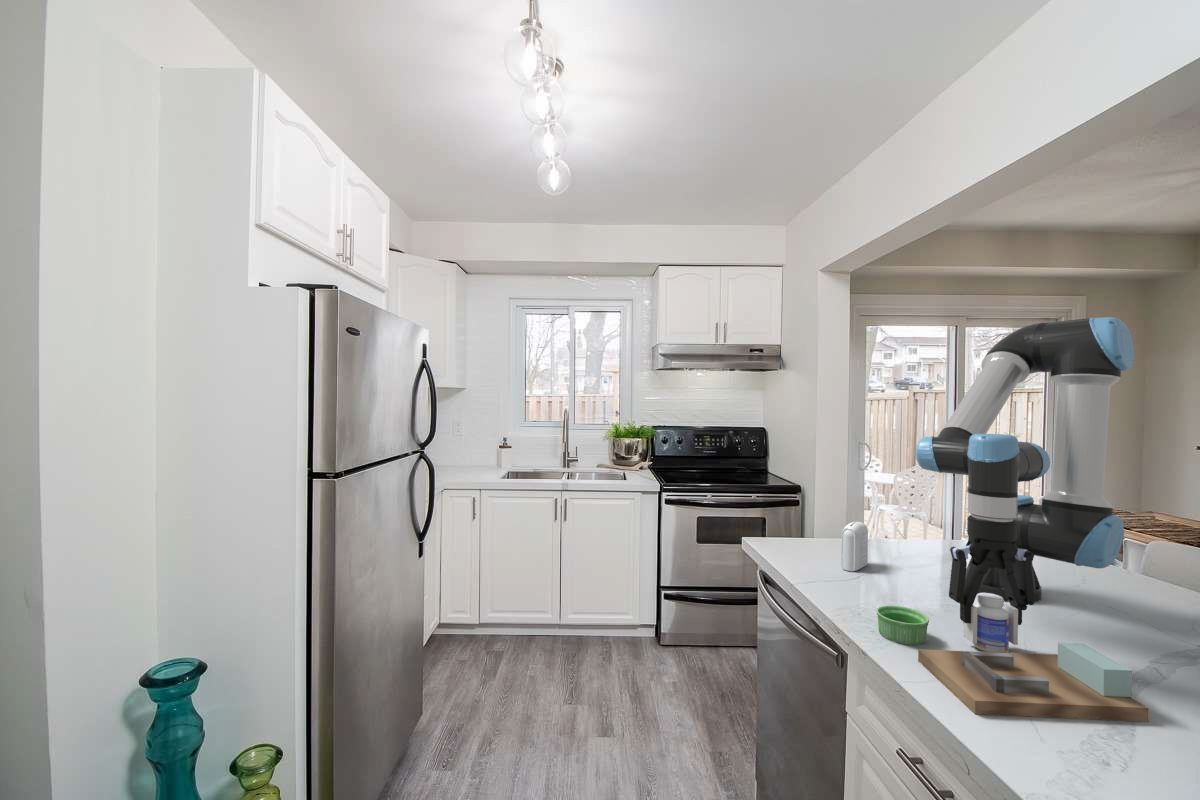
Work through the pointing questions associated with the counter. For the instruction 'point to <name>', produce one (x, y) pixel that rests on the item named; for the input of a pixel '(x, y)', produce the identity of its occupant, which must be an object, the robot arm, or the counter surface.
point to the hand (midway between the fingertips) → (990, 640)
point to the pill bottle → (992, 624)
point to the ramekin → (902, 624)
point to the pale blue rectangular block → (1095, 669)
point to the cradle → (1024, 686)
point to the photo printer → (854, 546)
